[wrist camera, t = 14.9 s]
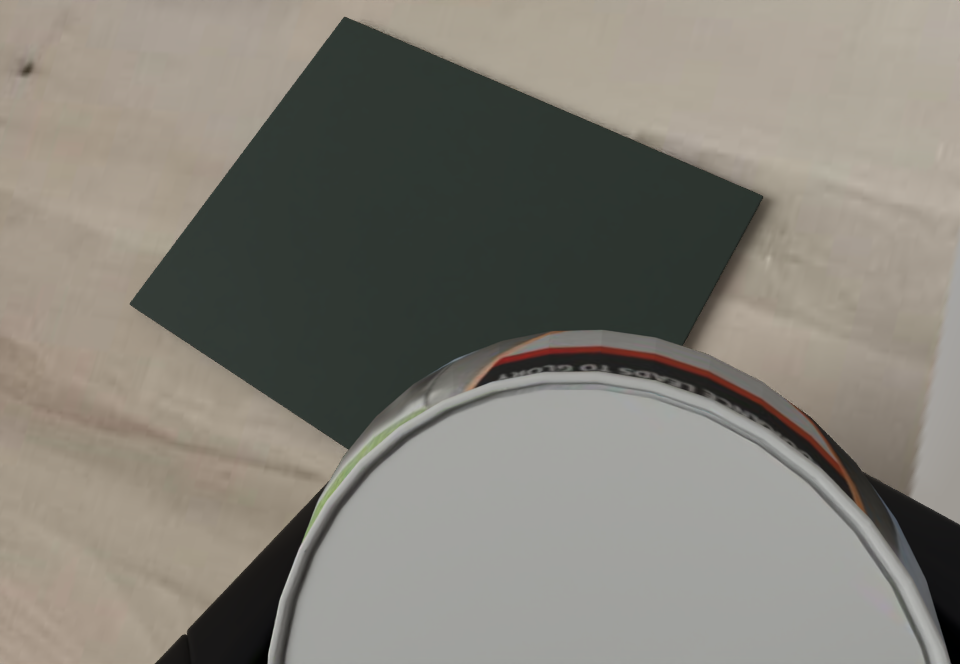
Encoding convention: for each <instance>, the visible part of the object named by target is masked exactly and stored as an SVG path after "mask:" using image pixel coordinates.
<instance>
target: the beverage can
mask: <svg viewBox="0 0 960 664" xmlns="http://www.w3.org/2000/svg"><path fill="white" fill-rule="evenodd" d="M268 664H951V662H950V659H949V655H948V652H947V648H946V644H945V641H944V638H943V634H942V631H941V628H940V624H939V621H938V618H937V614H936V611H935V608H934V604H933V601H932V598H931V594H930V591H929V588H928V584H927V581H926V579H925V577H924V575H923V573H922V571H921V569H920V567H919V565H918V563H917V561H916V559H915V557H914V554H913V552H912V550H911V548H910V546H909V544H908V542H907V540H906V538H905V536H904V534H903V532H902V530H901V528H900V526H899V524H898V522H897V520H896V518H895V517H894V515H893V514H892V513H891V511H890V510H889V508H888V507H887V506H886V504H885V503H884V501H883V500H882V499H881V497H880V496H879V494H878V493H877V492H876V490H875V489H874V487H873V486H872V485H871V483H870V482H869V480H868V479H867V478H866V476H865V475H864V473H863V472H862V471H861V469H860V468H859V466H858V465H857V464H856V463H855V462H854V460H853V459H852V458H851V457H850V456H849V455H848V454H847V453H846V452H845V451H844V450H843V449H842V448H841V447H840V446H839V445H838V444H837V443H836V442H835V441H834V440H833V439H832V438H831V437H830V436H829V435H828V434H827V433H826V432H825V431H824V430H823V429H822V428H821V427H820V426H819V425H818V424H817V423H816V422H815V421H814V420H813V419H812V418H811V417H810V416H808V415H807V414H805V413H804V412H803V411H801V410H800V409H799V408H797V407H796V406H794V405H793V404H792V403H790V402H789V401H788V400H786V399H785V398H783V397H782V396H781V395H779V394H778V393H777V392H775V391H774V390H773V389H771V388H770V387H768V386H767V385H766V384H764V383H763V382H762V381H760V380H758V379H756V378H754V377H752V376H750V375H748V374H746V373H744V372H742V371H740V370H738V369H736V368H734V367H732V366H730V365H728V364H726V363H724V362H722V361H720V360H718V359H716V358H714V357H713V356H711V355H709V354H706V353H702V352H699V351H696V350H693V349H690V348H687V347H684V346H680V345H677V344H674V343H671V342H668V341H665V340H662V339H658V338H655V337H648V336H641V335H634V334H628V333H621V332H614V331H607V330H578V331H549V332H544V333H539V334H534V335H529V336H524V337H519V338H514V339H509V340H504V341H501V342H498V343H495V344H493V345H490V346H488V347H485V348H482V349H480V350H477V351H475V352H472V353H470V354H467V355H464V356H462V357H459V358H457V359H454V360H453V361H451V362H449V363H448V364H446V365H444V366H443V367H441V368H439V369H438V370H436V371H434V372H433V373H431V374H430V375H428V376H426V377H425V378H423V379H421V380H420V381H418V382H416V383H415V384H413V385H412V386H411V387H410V388H408V389H407V390H406V391H405V392H404V393H403V394H401V395H400V396H399V397H398V398H397V399H396V400H395V401H393V402H392V403H391V404H390V405H389V406H388V407H386V408H385V409H384V410H383V411H382V412H381V413H380V414H378V415H377V416H376V417H375V418H374V420H373V421H372V422H371V423H370V425H369V426H368V427H367V428H366V429H365V431H364V432H363V433H362V434H361V435H360V437H359V438H358V439H357V440H356V442H355V443H354V444H353V445H352V446H351V448H350V449H349V450H348V451H347V452H346V454H345V455H344V456H343V458H342V460H341V461H340V463H339V465H338V467H337V468H336V470H335V472H334V474H333V475H332V477H331V479H330V481H329V482H328V484H327V486H326V487H325V489H324V491H323V493H322V494H321V496H320V498H319V500H318V502H317V505H316V507H315V510H314V513H313V515H312V518H311V520H310V523H309V526H308V528H307V531H306V534H305V536H304V539H303V541H302V544H301V546H300V548H299V550H298V553H297V556H296V558H295V561H294V563H293V566H292V569H291V571H290V574H289V577H288V579H287V582H286V584H285V587H284V590H283V592H282V595H281V598H280V601H279V606H278V611H277V615H276V620H275V625H274V629H273V634H272V639H271V644H270V648H269V653H268Z"/></svg>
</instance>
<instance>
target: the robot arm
mask: <svg viewBox="0 0 960 664" xmlns="http://www.w3.org/2000/svg"><path fill="white" fill-rule="evenodd" d="M863 473H864V472H863ZM864 475H865V476H866V478H867V479H868V480H869V482H870V483H871V485H872V486H873V487H874V489H875V490H876V492H877V493H878V494H879V496H880V497H881V499H882V500H883V501H884V503H885V504H886V506H887V507H888V508H889V510H890V511H891V513H892V514H893V515H894V517H895V518H896V520H897V522H898V524H899V526H900V528H901V530H902V532H903V534H904V536H905V538H906V540H907V542H908V544H909V546H910V548H911V550H912V552H913V554H914V557H915V559H916V561H917V563H918V565H919V567H920V569H921V571H922V573H923V575H924V577H925V579H926V581H927V584H928V588H929V591H930V594H931V598H932V601H933V604H934V608H935V611H936V614H937V618H938V621H939V624H940V628H941V631H942V634H943V638H944V641H945V644H946V648H947V652H948V655H949V659H950V662H951V664H960V525H959V524H958V523H955V522H954V521H952V520H950V519H948V518H947V517H945V516H943V515H941V514H939V513H937V512H935V511H934V510H932V509H930V508H928V507H926V506H924V505H923V504H921V503H919V502H917V501H915V500H914V499H912V498H910V497H908V496H906V495H904V494H903V493H901V492H899V491H897V490H895V489H893V488H892V487H890V486H888V485H886V484H884V483H882V482H881V481H879V480H877V479H875V478H873V477H871V476H870V475H868V474H866V473H864ZM329 481H330V480H329ZM329 481H328V482H329ZM327 484H328V483H327ZM327 484H326V485H325V486H324V487H323V488H322V489H321V490H320V491H319V492H318V493H317V494H316V495H315V496H314V497H313V498H312V499H311V500H310V501H309V503H308V504H307V505H306V506H305V507H304V508H303V509H302V510H301V511H300V512H299V513H298V514H297V515H296V516H295V517H294V518H293V519H292V520H291V521H290V523H289V524H288V525H287V526H286V527H285V528H284V529H283V530H282V531H281V532H280V533H279V534H278V535H277V536H276V537H275V538H274V539H273V540H272V541H271V543H270V544H269V545H268V546H267V547H266V548H265V549H264V550H263V551H262V552H261V553H260V554H259V555H258V556H257V557H256V558H255V559H254V560H253V561H252V563H251V564H250V565H249V566H248V567H247V568H246V569H245V570H244V571H243V572H242V573H241V574H240V575H239V576H238V577H237V578H236V579H235V580H234V581H233V583H232V584H231V585H230V586H229V587H228V588H227V589H226V590H225V591H224V592H223V593H222V594H221V595H220V596H219V597H218V598H217V599H216V600H215V601H214V603H213V604H212V605H211V606H210V607H209V608H208V609H207V610H206V611H205V612H204V613H203V614H202V615H201V616H200V617H199V618H198V619H197V620H196V621H195V623H194V624H193V625H192V626H191V627H190V628H189V629H188V630H187V635H186V634H184V635H182V636H181V637H180V638H179V639H178V640H177V641H176V642H175V643H174V644H173V645H172V646H171V648H170V649H169V650H168V651H167V652H166V653H165V654H164V655H163V656H162V657H161V658H160V659H159V660H158V661H157V662H156V663H155V664H268V653H269V648H270V644H271V639H272V634H273V629H274V625H275V620H276V615H277V611H278V606H279V601H280V598H281V595H282V592H283V590H284V587H285V584H286V582H287V579H288V577H289V574H290V571H291V569H292V566H293V563H294V561H295V558H296V556H297V553H298V550H299V548H300V546H301V544H302V541H303V539H304V536H305V534H306V531H307V528H308V526H309V523H310V520H311V518H312V515H313V513H314V510H315V507H316V505H317V502H318V500H319V498H320V496H321V494H322V493H323V491H324V489H325V487H326V486H327Z"/></svg>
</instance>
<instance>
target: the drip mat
mask: <svg viewBox="0 0 960 664" xmlns="http://www.w3.org/2000/svg"><path fill="white" fill-rule="evenodd" d="M762 199H763V196H762V195H760V194H757V193H755V192H753V191H750V190H748V189H746V188H743V187H741V186H739V185H736V184H734V183H732V182H729V181H727V180H725V179H722V178H720V177H718V176H715V175H713V174H711V173H708V172H706V171H704V170H701V169H699V168H697V167H694V166H692V165H690V164H687V163H685V162H683V161H680V160H678V159H676V158H673V157H671V156H669V155H666V154H664V153H662V152H659V151H657V150H655V149H652V148H650V147H648V146H645V145H643V144H641V143H638V142H636V141H634V140H631V139H629V138H627V137H624V136H622V135H620V134H617V133H615V132H613V131H610V130H608V129H606V128H603V127H601V126H599V125H596V124H594V123H592V122H589V121H587V120H585V119H582V118H580V117H578V116H575V115H573V114H571V113H568V112H566V111H564V110H561V109H559V108H557V107H554V106H552V105H550V104H547V103H545V102H543V101H540V100H538V99H536V98H533V97H531V96H529V95H526V94H524V93H522V92H519V91H517V90H515V89H512V88H510V87H508V86H505V85H503V84H501V83H498V82H496V81H494V80H491V79H489V78H487V77H484V76H482V75H480V74H477V73H475V72H473V71H470V70H468V69H466V68H463V67H461V66H459V65H456V64H454V63H452V62H449V61H447V60H445V59H442V58H440V57H438V56H435V55H433V54H431V53H428V52H426V51H424V50H421V49H419V48H417V47H414V46H412V45H410V44H407V43H405V42H403V41H400V40H398V39H396V38H393V37H391V36H389V35H386V34H384V33H382V32H379V31H377V30H375V29H372V28H370V27H368V26H365V25H363V24H361V23H358V22H356V21H354V20H351V19H349V18H347V17H344V18H343V19H342V20H341V22H340V23H339V24H338V26H337V27H336V28H335V30H334V31H333V32H332V34H331V35H330V36H329V38H328V39H327V40H326V42H325V43H324V44H323V46H322V47H321V48H320V50H319V51H318V52H317V54H316V55H315V57H314V58H313V59H312V61H311V62H310V63H309V65H308V66H307V67H306V69H305V70H304V71H303V73H302V74H301V75H300V77H299V78H298V79H297V81H296V82H295V83H294V85H293V86H292V87H291V89H290V90H289V91H288V93H287V94H286V95H285V97H284V98H283V99H282V101H281V102H280V103H279V105H278V106H277V107H276V109H275V110H274V111H273V113H272V114H271V115H270V117H269V118H268V119H267V121H266V122H265V123H264V125H263V126H262V127H261V129H260V130H259V131H258V133H257V134H256V135H255V137H254V138H253V139H252V141H251V142H250V143H249V145H248V146H247V147H246V149H245V150H244V151H243V153H242V154H241V155H240V157H239V158H238V159H237V161H236V162H235V163H234V165H233V166H232V167H231V169H230V170H229V171H228V173H227V174H226V175H225V177H224V178H223V179H222V181H221V182H220V183H219V185H218V186H217V187H216V189H215V190H214V191H213V193H212V194H211V195H210V197H209V198H208V199H207V201H206V202H205V203H204V205H203V206H202V208H201V209H200V210H199V212H198V213H197V214H196V216H195V217H194V218H193V220H192V221H191V222H190V224H189V225H188V226H187V228H186V229H185V230H184V232H183V233H182V234H181V236H180V237H179V238H178V240H177V241H176V242H175V244H174V245H173V246H172V248H171V249H170V250H169V252H168V253H167V254H166V256H165V257H164V258H163V260H162V261H161V262H160V264H159V265H158V266H157V268H156V269H155V270H154V272H153V273H152V274H151V276H150V277H149V278H148V280H147V281H146V282H145V284H144V285H143V286H142V288H141V289H140V290H139V292H138V293H137V294H136V296H135V297H134V298H133V300H132V301H131V302H130V305H131V306H132V307H134V308H135V309H137V310H138V311H140V312H141V313H143V314H145V315H146V316H148V317H149V318H151V319H152V320H154V321H155V322H157V323H158V324H160V325H161V326H163V327H164V328H166V329H167V330H169V331H170V332H172V333H173V334H175V335H176V336H178V337H179V338H181V339H182V340H184V341H185V342H187V343H188V344H190V345H191V346H193V347H194V348H196V349H197V350H199V351H200V352H202V353H203V354H205V355H206V356H208V357H209V358H211V359H212V360H214V361H215V362H217V363H219V364H220V365H222V366H223V367H225V368H226V369H228V370H229V371H231V372H232V373H234V374H235V375H237V376H238V377H240V378H241V379H243V380H244V381H246V382H247V383H249V384H250V385H252V386H253V387H255V388H256V389H258V390H259V391H261V392H262V393H264V394H265V395H267V396H268V397H270V398H271V399H273V400H274V401H276V402H277V403H279V404H280V405H282V406H283V407H285V408H286V409H288V410H290V411H291V412H293V413H294V414H296V415H297V416H299V417H300V418H302V419H303V420H305V421H306V422H308V423H309V424H311V425H312V426H314V427H315V428H317V429H318V430H320V431H321V432H323V433H324V434H326V435H327V436H329V437H330V438H332V439H333V440H335V441H336V442H338V443H339V444H341V445H342V446H344V447H345V448H347V449H348V450H349V449H350V448H351V446H352V445H353V444H354V443H355V442H356V440H357V439H358V438H359V437H360V435H361V434H362V433H363V432H364V431H365V429H366V428H367V427H368V426H369V425H370V423H371V422H372V421H373V420H374V418H375V417H376V416H377V415H378V414H380V413H381V412H382V411H383V410H384V409H385V408H386V407H388V406H389V405H390V404H391V403H392V402H393V401H395V400H396V399H397V398H398V397H399V396H400V395H401V394H403V393H404V392H405V391H406V390H407V389H408V388H410V387H411V386H412V385H413V384H415V383H416V382H418V381H420V380H421V379H423V378H425V377H426V376H428V375H430V374H431V373H433V372H434V371H436V370H438V369H439V368H441V367H443V366H444V365H446V364H448V363H449V362H451V361H453V360H454V359H457V358H459V357H462V356H464V355H467V354H470V353H472V352H475V351H477V350H480V349H482V348H485V347H488V346H490V345H493V344H495V343H498V342H501V341H504V340H509V339H514V338H519V337H524V336H529V335H534V334H539V333H544V332H549V331H578V330H607V331H614V332H621V333H628V334H634V335H641V336H648V337H655V338H658V339H662V340H665V341H668V342H671V343H674V344H677V345H680V346H683V344H684V342H685V340H686V339H687V337H688V335H689V333H690V331H691V329H692V328H693V326H694V324H695V322H696V320H697V318H698V316H699V315H700V313H701V311H702V309H703V307H704V305H705V304H706V302H707V300H708V298H709V296H710V294H711V293H712V291H713V289H714V287H715V285H716V283H717V281H718V280H719V278H720V276H721V274H722V272H723V270H724V269H725V267H726V265H727V263H728V261H729V259H730V258H731V256H732V254H733V252H734V250H735V248H736V247H737V245H738V243H739V241H740V239H741V237H742V235H743V234H744V232H745V230H746V228H747V226H748V224H749V223H750V221H751V219H752V217H753V215H754V213H755V212H756V210H757V208H758V206H759V204H760V202H761V201H762Z"/></svg>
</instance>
